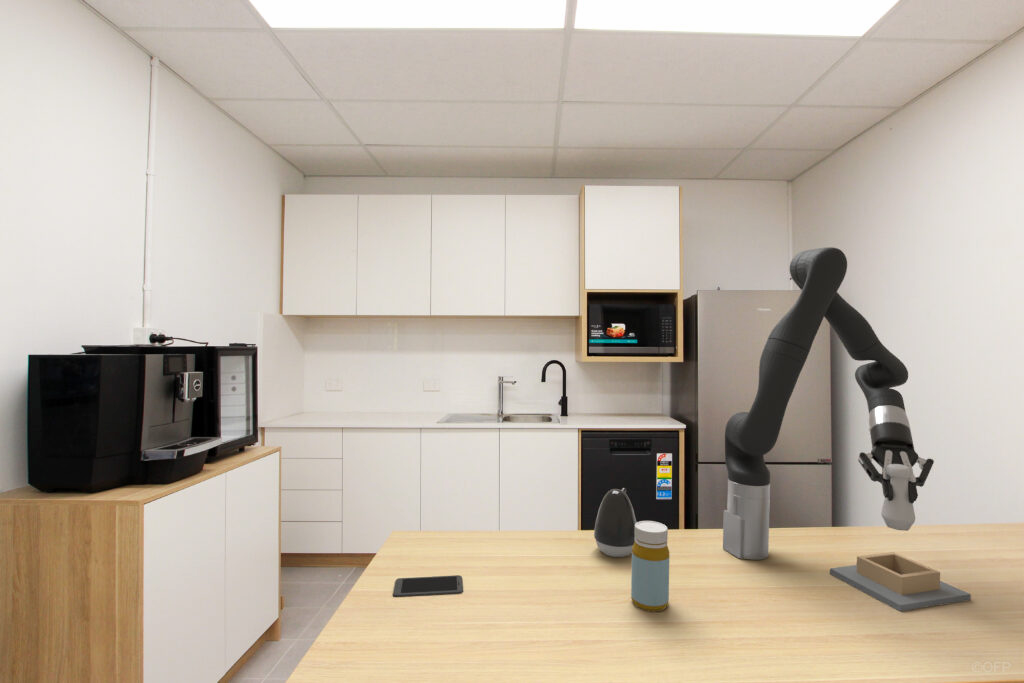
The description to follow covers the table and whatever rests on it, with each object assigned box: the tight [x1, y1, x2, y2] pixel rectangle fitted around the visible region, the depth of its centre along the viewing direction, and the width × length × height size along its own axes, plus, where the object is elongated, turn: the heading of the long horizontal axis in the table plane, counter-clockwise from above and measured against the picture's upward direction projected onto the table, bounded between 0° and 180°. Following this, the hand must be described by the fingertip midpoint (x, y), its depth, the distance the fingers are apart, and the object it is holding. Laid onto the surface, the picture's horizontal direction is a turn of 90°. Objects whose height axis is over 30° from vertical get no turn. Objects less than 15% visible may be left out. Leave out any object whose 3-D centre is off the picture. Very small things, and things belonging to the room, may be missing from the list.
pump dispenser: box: [593, 487, 637, 558], centre depth 126 cm, size 10×10×15 cm
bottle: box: [630, 520, 670, 612], centre depth 103 cm, size 7×7×15 cm
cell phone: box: [392, 574, 464, 598], centre depth 109 cm, size 7×14×1 cm, turn 97°
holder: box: [829, 551, 972, 612], centre depth 111 cm, size 18×16×5 cm
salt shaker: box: [880, 464, 916, 532], centre depth 111 cm, size 6×6×13 cm
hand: (901, 499), depth 109 cm, fingers closed on salt shaker, 3 cm apart
